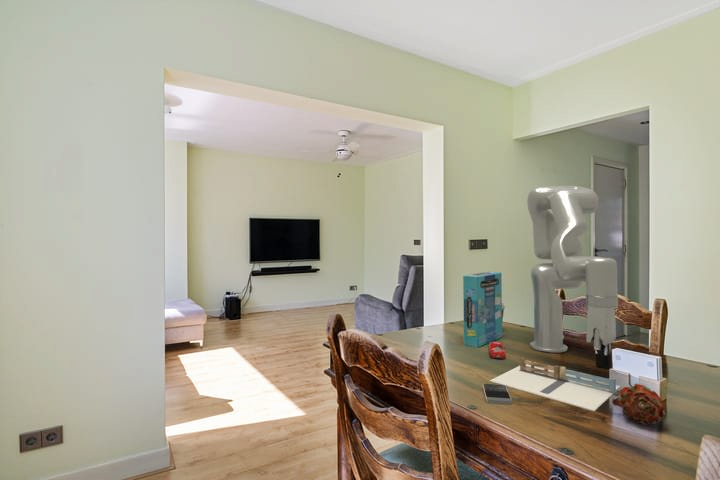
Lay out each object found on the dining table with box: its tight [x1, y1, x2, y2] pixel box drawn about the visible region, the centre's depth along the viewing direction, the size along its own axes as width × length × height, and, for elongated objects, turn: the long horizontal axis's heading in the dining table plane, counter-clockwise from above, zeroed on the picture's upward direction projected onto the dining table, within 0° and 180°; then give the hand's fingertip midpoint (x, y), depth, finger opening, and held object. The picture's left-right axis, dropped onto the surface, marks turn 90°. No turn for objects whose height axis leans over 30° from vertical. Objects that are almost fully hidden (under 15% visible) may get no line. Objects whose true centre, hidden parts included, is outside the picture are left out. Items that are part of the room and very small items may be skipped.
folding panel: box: [560, 365, 617, 393], centre depth 107 cm, size 14×1×3 cm, turn 42°
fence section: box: [519, 357, 561, 380], centre depth 116 cm, size 11×1×4 cm, turn 42°
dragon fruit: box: [611, 383, 667, 426], centre depth 88 cm, size 8×8×12 cm
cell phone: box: [482, 383, 513, 406], centre depth 102 cm, size 6×11×1 cm, turn 168°
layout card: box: [489, 364, 618, 413], centre depth 109 cm, size 22×27×1 cm
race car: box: [488, 341, 507, 360], centre depth 138 cm, size 13×5×4 cm, turn 164°
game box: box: [462, 271, 503, 349], centre depth 155 cm, size 20×6×27 cm, turn 135°
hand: (603, 368), depth 108 cm, fingers closed
